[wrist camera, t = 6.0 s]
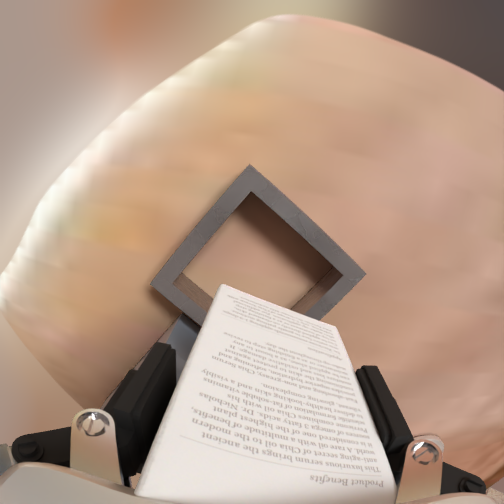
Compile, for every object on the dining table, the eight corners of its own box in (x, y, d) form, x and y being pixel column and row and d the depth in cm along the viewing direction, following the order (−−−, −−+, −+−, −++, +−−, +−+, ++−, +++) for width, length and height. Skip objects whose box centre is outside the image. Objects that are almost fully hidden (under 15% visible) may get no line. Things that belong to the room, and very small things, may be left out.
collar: (356, 263, 22) (366, 273, 20) (262, 353, 25) (262, 371, 22) (251, 165, 21) (249, 164, 18) (160, 272, 23) (149, 284, 21)
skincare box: (193, 352, 14) (102, 574, 3) (221, 279, 13) (98, 553, 2) (301, 390, 15) (321, 607, 3) (341, 325, 14) (432, 569, 2)
